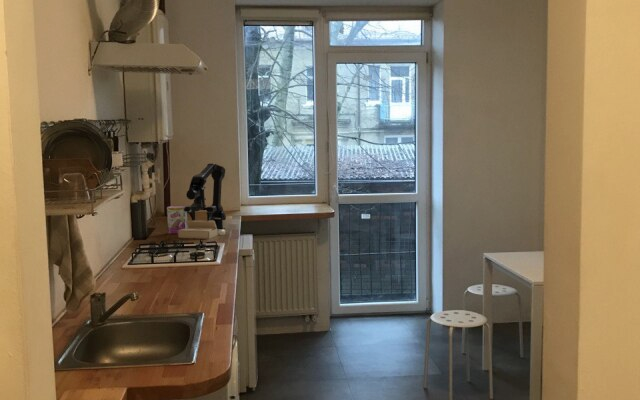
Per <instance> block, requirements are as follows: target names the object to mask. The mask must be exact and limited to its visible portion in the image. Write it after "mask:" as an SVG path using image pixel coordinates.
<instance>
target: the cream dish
mask: <svg viewBox="0 0 640 400" xmlns="http://www.w3.org/2000/svg"><path fill="white" fill-rule="evenodd" d="M224 235H226V229H218V236H224Z"/></svg>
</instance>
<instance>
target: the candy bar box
mask: <svg viewBox="0 0 640 400" xmlns="http://www.w3.org/2000/svg"><path fill="white" fill-rule="evenodd" d="M185 207H186V206H166V216H167V217H166V220H167V234H168V235H178V231H179V230H181V229H186V228H188V226H187V224H186V220H188V213H186V212H185V211H184V208H185Z"/></svg>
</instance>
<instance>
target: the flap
mask: <svg viewBox="0 0 640 400" xmlns="http://www.w3.org/2000/svg"><path fill="white" fill-rule="evenodd" d="M186 224H187V228H208V229H214V228H217V227H216V224H215V221H213V220H210V221H207V220H195V221H192V219H190V220H188V219H187V220H186Z"/></svg>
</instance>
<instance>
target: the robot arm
mask: <svg viewBox="0 0 640 400" xmlns="http://www.w3.org/2000/svg"><path fill="white" fill-rule="evenodd" d="M225 174H226V168H225V167H224V166H222V165H219V164H216V163H215V162H214V163H213V162H212V163H208V164H206V167H205V168H203V170H202V171H200V172H199V173H197V174H195V175H193V176H192V178H191V180H190V184H189V188H188V190H187V191H186V193H185V194H186V198H187V199H188V200H191V201H192V200H193V203H192V204H191V205H187V206H186V205H185V206H184V207H185V208H184V211H185V212H186V213H187V215H189V216H190V218H191V220H192V221H196V212H199V211H206V216H207V217H206V219H207V220H206V221H215V224H216V227H217V228H213V229H224V230H226V227H224V221H226V219H227V215H226V213H225V212H224V206H222V203H221V201H222V199H221V198H222V182H223V179H224V178H225ZM210 176H211V178H212V180H213V187H212V188H213V190H212V204H211V205H210V206H207V205H206V197H205V189H206V186H205V185H206V183H207V179H208V177H210Z"/></svg>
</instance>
